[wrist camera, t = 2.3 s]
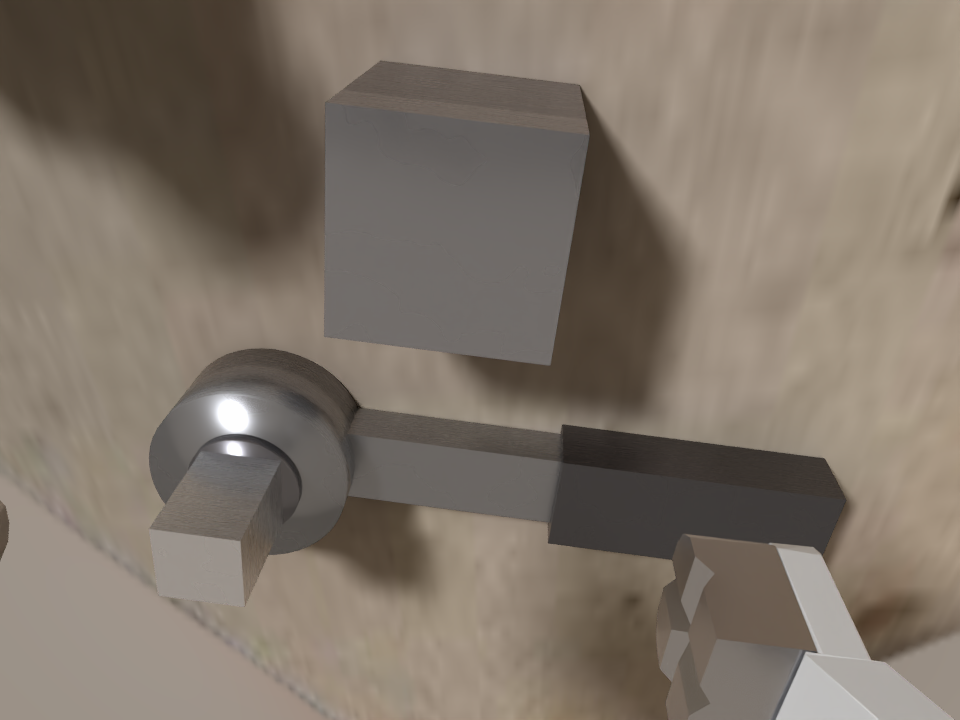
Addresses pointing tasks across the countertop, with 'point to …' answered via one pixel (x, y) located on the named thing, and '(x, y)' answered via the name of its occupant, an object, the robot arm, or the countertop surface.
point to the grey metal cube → (451, 209)
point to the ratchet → (437, 478)
